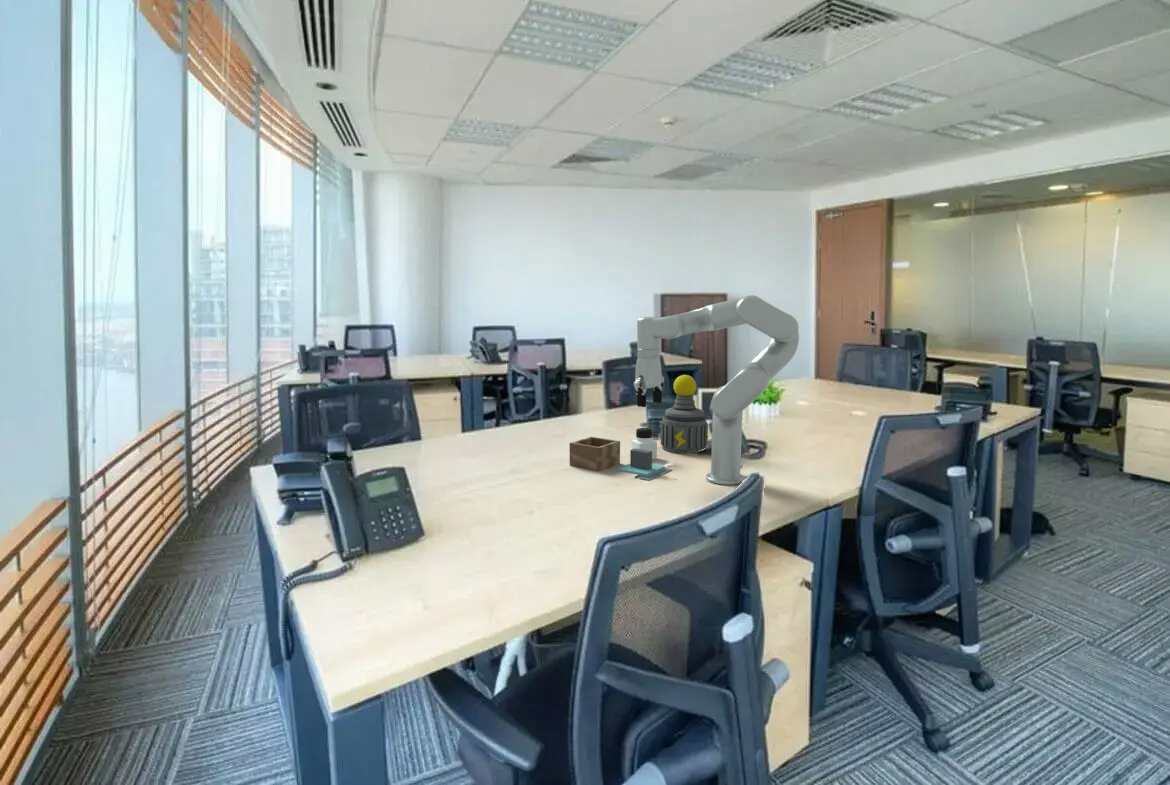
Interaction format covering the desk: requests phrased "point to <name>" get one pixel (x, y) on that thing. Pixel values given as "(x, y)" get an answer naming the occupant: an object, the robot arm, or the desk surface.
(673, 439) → the decorative lamp
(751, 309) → the robot arm
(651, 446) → the medicine bottle
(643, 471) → the lid
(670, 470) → the mat
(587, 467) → the box
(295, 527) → the desk surface
